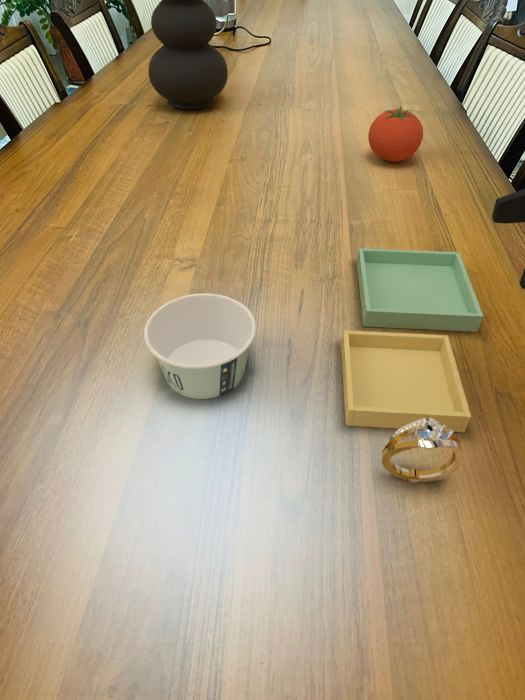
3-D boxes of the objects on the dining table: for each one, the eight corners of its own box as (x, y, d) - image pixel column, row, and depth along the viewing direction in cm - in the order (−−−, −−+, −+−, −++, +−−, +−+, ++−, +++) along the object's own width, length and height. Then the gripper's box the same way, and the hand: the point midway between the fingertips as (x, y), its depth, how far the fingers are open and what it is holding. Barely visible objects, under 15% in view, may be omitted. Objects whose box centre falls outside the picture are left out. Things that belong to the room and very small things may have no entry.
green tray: (454, 267, 74) (459, 252, 72) (477, 332, 64) (483, 316, 62) (356, 263, 75) (358, 248, 73) (363, 326, 65) (366, 310, 63)
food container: (277, 366, 59) (279, 323, 55) (202, 427, 53) (197, 385, 48) (206, 321, 65) (202, 279, 61) (131, 372, 59) (120, 329, 54)
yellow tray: (442, 351, 61) (448, 335, 60) (464, 432, 53) (471, 416, 51) (340, 346, 62) (343, 330, 60) (345, 425, 53) (348, 409, 51)
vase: (220, 119, 117) (209, -81, 92) (142, 114, 119) (112, -83, 94) (235, 93, 130) (230, -88, 105) (165, 89, 132) (144, -89, 107)
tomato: (354, 154, 103) (361, 102, 96) (395, 145, 106) (404, 94, 99) (386, 174, 96) (395, 120, 89) (428, 164, 99) (440, 110, 93)
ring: (448, 469, 49) (472, 418, 44) (451, 499, 47) (477, 448, 42) (376, 459, 50) (390, 407, 45) (375, 487, 48) (390, 436, 42)
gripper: (674, 118, 40) (493, 144, 42) (788, 246, 31) (556, 272, 33) (635, 192, 46) (477, 212, 47) (723, 318, 37) (527, 337, 39)
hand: (508, 242), depth 40 cm, fingers open, 7 cm apart
